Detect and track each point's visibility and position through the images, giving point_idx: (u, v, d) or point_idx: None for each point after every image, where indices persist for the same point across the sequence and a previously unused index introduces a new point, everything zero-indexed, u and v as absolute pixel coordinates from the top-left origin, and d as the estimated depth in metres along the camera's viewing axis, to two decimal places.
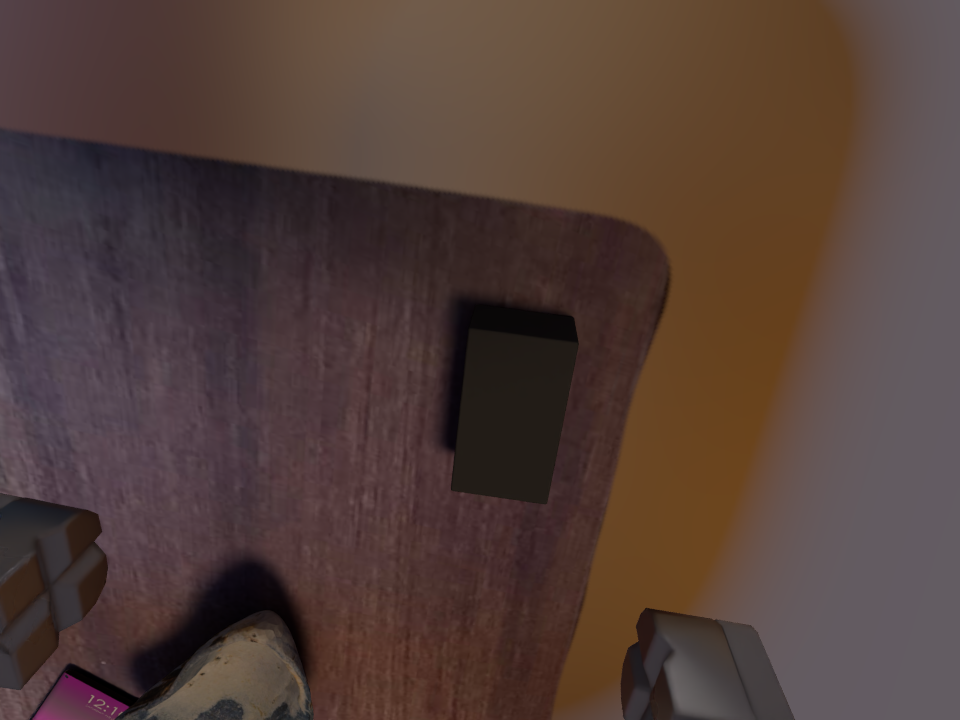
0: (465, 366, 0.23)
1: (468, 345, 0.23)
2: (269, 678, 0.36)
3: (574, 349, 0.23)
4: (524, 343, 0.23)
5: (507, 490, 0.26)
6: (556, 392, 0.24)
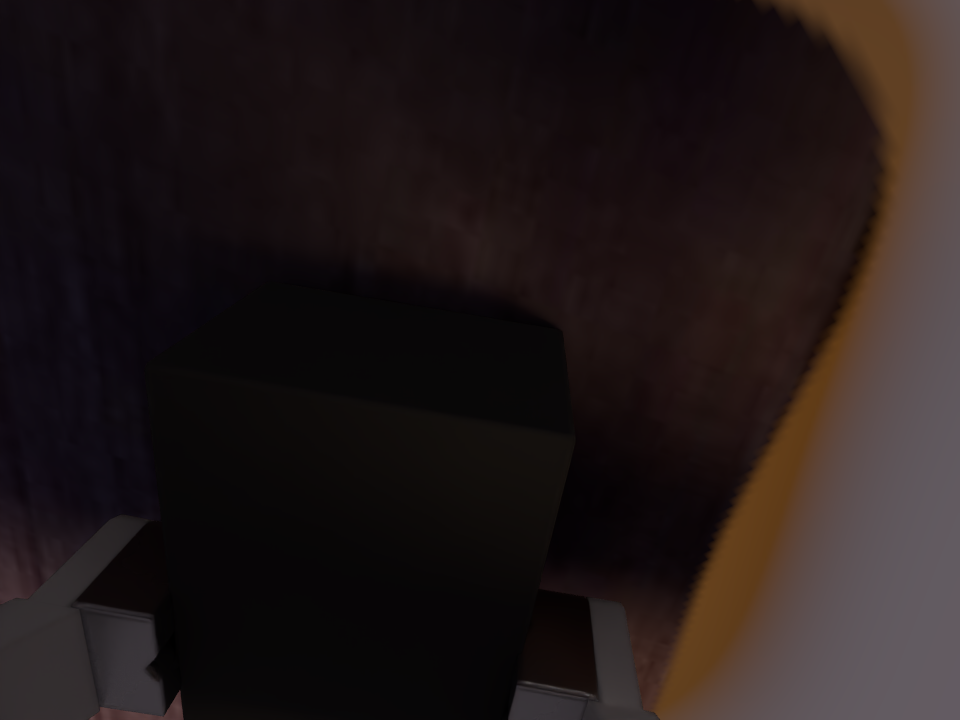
0: (161, 499, 0.06)
1: (155, 428, 0.06)
2: None
3: (558, 461, 0.06)
4: (363, 431, 0.06)
5: None
6: (490, 599, 0.07)
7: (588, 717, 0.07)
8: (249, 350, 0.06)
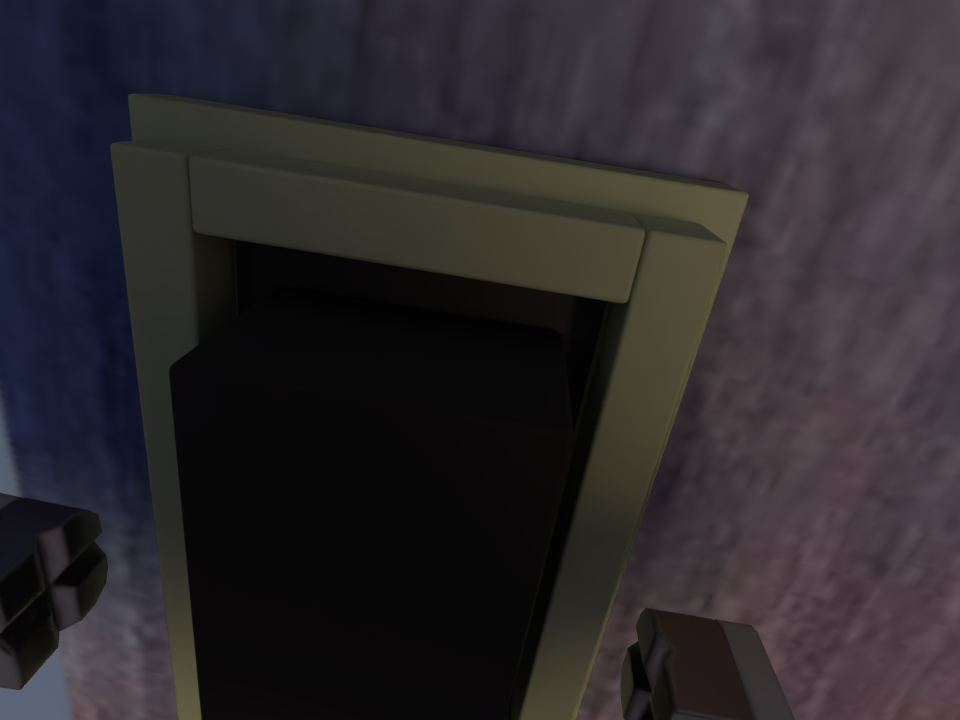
0: (182, 493, 0.07)
1: (178, 426, 0.06)
2: None
3: (558, 457, 0.06)
4: (374, 429, 0.06)
5: None
6: (494, 588, 0.07)
7: None
8: (266, 352, 0.07)
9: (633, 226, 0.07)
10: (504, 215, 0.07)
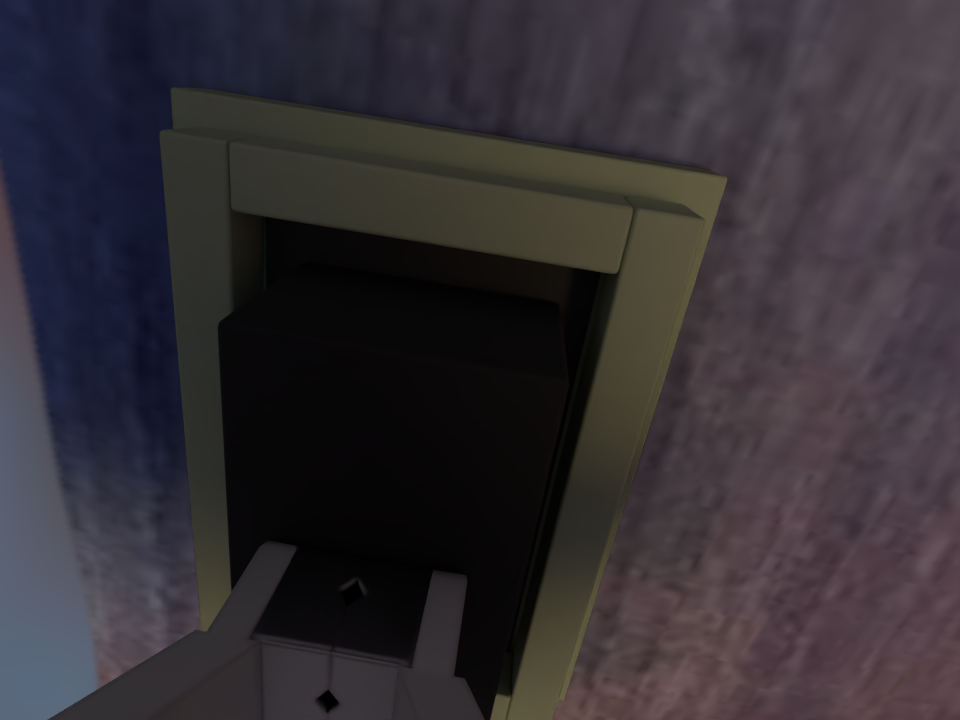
0: (225, 438, 0.08)
1: (223, 376, 0.07)
2: None
3: (555, 401, 0.07)
4: (396, 377, 0.07)
5: None
6: (498, 523, 0.08)
7: (399, 683, 0.07)
8: (299, 313, 0.08)
9: (622, 204, 0.08)
10: (508, 195, 0.08)
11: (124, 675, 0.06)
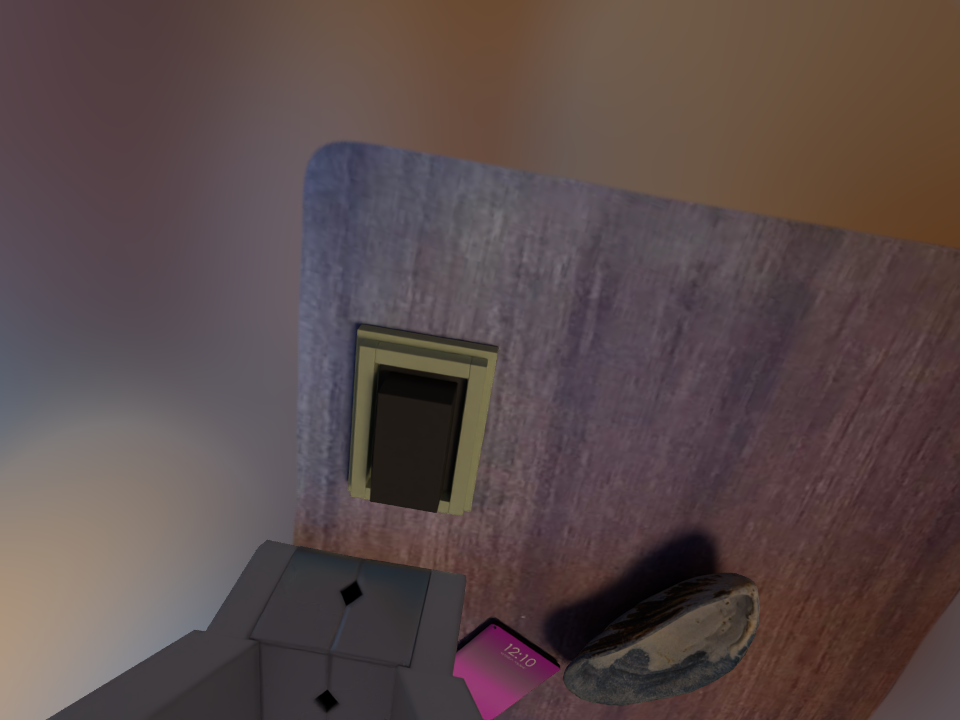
0: (376, 417, 0.34)
1: (378, 404, 0.34)
2: (681, 631, 0.44)
3: (449, 409, 0.34)
4: (415, 404, 0.34)
5: (409, 502, 0.37)
6: (439, 437, 0.34)
7: (398, 683, 0.07)
8: (394, 389, 0.34)
9: (468, 363, 0.35)
10: (441, 361, 0.35)
11: (123, 675, 0.06)
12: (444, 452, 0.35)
